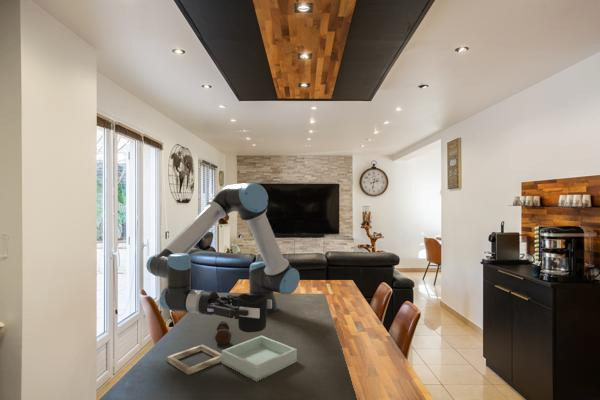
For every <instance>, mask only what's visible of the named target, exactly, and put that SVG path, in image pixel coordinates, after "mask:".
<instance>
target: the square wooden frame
mask: <svg viewBox="0 0 600 400" xmlns="http://www.w3.org/2000/svg"><path fill="white" fill-rule="evenodd" d="M199 352H203V353H205V354H207V355H208V356H211V357H212V358H210V359H207V360H204V361H202V362H199V363H197V364H194V365H193V366H189V365H187V364H185V363H184V362H182V361H181V360H180V359H182V358H185V357H187V356H188V357H189V356H190V355H194V354H196V353H199ZM221 354H222V352H221V353H220V352H219V351H217V350H215V349H212V348H210V347H209V346H206V345H205V344H203V343H202V344H199V345H197V346H194V347H191V348H188V349H185V350H183V351H179V352H176V353H173V354H171V355H169V356H166V362H167V363H169V364H170V365H172V366H174V367H175V368H177V369H178V370H180V371H182V372H183V373H184V374H186V375H188V376H189V375H192V374H195V373H197V372H200V371H201V370H203V369H206V368H208V367H211V366H215V365H216V364H218V363H221Z"/></svg>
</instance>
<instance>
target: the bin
mask: <svg viewBox="0 0 600 400" xmlns="http://www.w3.org/2000/svg"><path fill="white" fill-rule="evenodd" d="M297 352H298V349H297V348H295V347H293V346H290V345H287V344H285V343H282V342H280V341H277V340H274V339H272V338H270V337H266V336H264V335H259V336H255V337H254V338H250V339H248V340H245V341H243V342H240V343H238V344H234V345H233V346H231V347H227V348H225V349H222V350H221V362H220V363H221V365H225V366H226V367H228V368H230V369H231V368H232V370H233V369H234V370H233V371H235V370H236V372H237V371H238V373H239V372H240V374H241V375H242V376H244V377H247V378H248V379H250V378H251V380H252V381H255V382H259V380H260V381H261V379H262V380H264V379H266V378H267V377H269V376H271V375H273V374H275V373H277V372H279V371H281V370H283V369H285V368H287V367H289V366H290V365H292V364H295V363H296V362H297V361H298V359H297V357H298V353H297ZM263 378H264V379H263Z"/></svg>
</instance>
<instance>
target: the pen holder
mask: <svg viewBox="0 0 600 400" xmlns="http://www.w3.org/2000/svg"><path fill="white" fill-rule="evenodd" d="M237 296H238V306H237V308H238V309H239V307H248V308H258V309H260V318H251V317H242V316H239V315H238V319H237V321H238V323H237V324H238V329H239V330H240V331H242V332H244V333H258V332H261V331H263V330H265V328H266V326H267V315H268V314H267V295H266V294H257V295H249V294H248V293H242V294H239V295H237Z"/></svg>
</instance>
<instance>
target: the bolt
mask: <svg viewBox="0 0 600 400" xmlns="http://www.w3.org/2000/svg"><path fill="white" fill-rule="evenodd" d="M229 330H230V326H229V323H228V322H226V321H220V322H219V323H218V325H217V326H216V334H215V335H214V340H215V341H216V344H218V345H220V344H221V345H227V344H228V343H229V341H230V340H231V337H232V336H231V334H230V332H229Z"/></svg>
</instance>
